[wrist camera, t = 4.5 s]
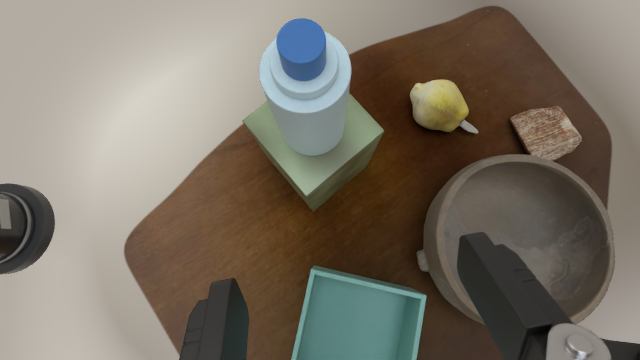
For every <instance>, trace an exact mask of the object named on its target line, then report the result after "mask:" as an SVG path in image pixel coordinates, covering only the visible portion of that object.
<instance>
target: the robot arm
mask: <svg viewBox="0 0 640 360" xmlns="http://www.w3.org/2000/svg"><path fill="white" fill-rule="evenodd" d="M34 228H35V217H34V213H33V210H32V208H31V206H30V205H29V203H28V202H27V201H26V200H25V199H24V198H22V197H21V196H19V195H16V194H13V193H7V192H0V264H2V263H6V262H8V261H10V260H12V259H14V258H15V257H17V256H18V255H19V254H21V253H22V252H23V251H24V249H25V248H26V247H27V245H28V244H29V242H30V240H31V238H32V236H33V233H34ZM457 271H458V275H459V278H460V280H461V283H462V284H463V286H464V288H465V290H466V291H467V293H468V295H469V297H470V299H471V300H472V302H473V304H474V306H475V307H476V309H477V311H478V313H479V315H480V316H481V318H482V320H483V322H484V323H485V325H486V327H487V329H488V331H489V332H490V334H491V336H492V338H493V339H494V341H495V343H496V345H497V347H498V348H499V350H500V352H501V354H502V355H503V357H504V359H505V360H640V344H636V343H627V342H619V341H611V340H605V339H601V338H599V337H598V336H597V335H595V334H594V333H593V332H591V331H590V330H588V329H586V328H584V327H581V326H579V325H575V324H574V323H573V322H572V321H571V320H570V319H569V318H568V316H567V315H566V314H565V313H564V311H563V310H562V309H561V308H560V306H559V305H558V304H557V303H556V301H555V300H554V299H553V298H552V296H551V295H550V294H549V293H548V291H547V290H546V289H545V288H544V286H543V285H542V284H541V283H540V281H539V280H538V279H536V276H535V275H534V274H533V273H532V271H531V270H530V269H528V268H527V265H526V264H525V263H524V261H523V260H522V259H521V258H520V256H519V255H518V254H517V253H516V252H514V251H513V250H511V249H510V248H508V247H507V246H505V245H504V244H499V245H494V244H493V242H492V241H491V240H490V238H489V237H488V236H487V234H486V233H484V232H478V233H473V234H467V235H462V236H460V239H459V248H458V257H457ZM248 325H249V315H248V308H247V304H246V302H245V300H244V297H243V295H242V293H241V291H240V288H239V286H238V284H237V281H236V280H235V278H231V279H226V280H220V281H215V282H212V284H211V286H210V291H209V296H208V299H205V300H199V301H198V303H197V304H196V306H195V307H194V309H193V311H192V312H191V314H190V316H189V320H188V324H187V329H186V333H185V337H184V342H183V343H184V345H183V346H182V350H181V354H180V359H179V360H246V354H247V339H248Z"/></svg>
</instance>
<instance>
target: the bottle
mask: <svg viewBox="0 0 640 360" xmlns="http://www.w3.org/2000/svg"><path fill="white" fill-rule="evenodd" d="M259 77H260V82H261V85H262V88H263V90H264V93H265V95H266V97H267V100H268V102H269V105H270V107H271V109H272V112H273V114H274V116H275V119H276V121H277V124H278V126H279V128H280V131H281V133H282V135H283V138H284V140H285V141H286V143H287V144H288V145H289V146H290V147H291V148H292V149H293V150H294V151H296V152H298V153H300V154H303V155H307V156H317V155H322V154H325V153H327V152H329V151H330V150H332V149H333V148H334V147H335V146H336V145H337V144H338V143H339V141H340V140H341V138H342V135H343V132H344V125H345V118H346V110H347V102H348V95H349V87H350V79H351V62H350V58H349V56H348V53H347V51H346V50H345V48H344V47H343V45H342V44H341V43H340V42H339V41H338V40H337V39H336V38H335V37H333V36H332V35H330V34H328V33H326V32H324V31H323V29H322V28H321V27H320V26H319V25H318V24H317V23H315V22H314V21H312V20H309V19H294V20H292V21H289V22H288V23H286V24H285V25H284V26H283V27H282V28H281V29H280V31H279V33H278V35H277V38H276V39H275V40H274V41H272V43H271V44H270V45H269V46H268V47H267V49H266V50H265V52H264V54H263V56H262V59H261V62H260V67H259Z"/></svg>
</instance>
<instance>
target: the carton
mask: <svg viewBox="0 0 640 360" xmlns="http://www.w3.org/2000/svg"><path fill="white" fill-rule="evenodd" d="M425 303H426V295H425V294H423V293H421V292H419V291H417V290H415V289H413V288H411V287H406V286H402V285H398V284H393V283H389V282H385V281H380V280H376V279H371V278H367V277H363V276H358V275H354V274H350V273H345V272H341V271H337V270H332V269H328V268H324V267H319V266H315V265H314V266H313V267H312V269H311V271H310V276H309V281H308V285H307V290H306V294H305V299H304V303H303V308H302V312H301V317H300V321H299V326H298V331H297V335H296V340H295V344H294V349H293V353H292V358H291V360H416V359H417V353H418V347H419V340H420V334H421V328H422V322H423V315H424V309H425Z"/></svg>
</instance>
